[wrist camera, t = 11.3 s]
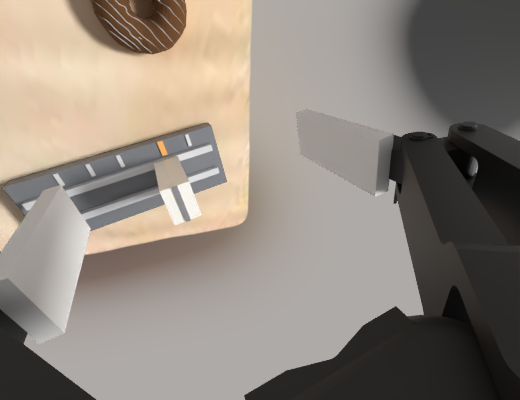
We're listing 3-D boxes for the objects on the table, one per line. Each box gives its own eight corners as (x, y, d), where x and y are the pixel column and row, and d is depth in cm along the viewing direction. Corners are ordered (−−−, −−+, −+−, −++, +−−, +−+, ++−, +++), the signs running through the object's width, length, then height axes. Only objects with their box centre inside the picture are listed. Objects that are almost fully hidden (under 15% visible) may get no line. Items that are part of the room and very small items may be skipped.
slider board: (9, 180, 35) (-1, 191, 32) (207, 122, 42) (212, 126, 39) (54, 236, 40) (48, 249, 38) (223, 176, 47) (228, 183, 45)
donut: (163, -59, 31) (167, -73, 28) (195, 42, 37) (202, 40, 34) (69, -42, 29) (61, -55, 25) (119, 63, 34) (118, 64, 31)
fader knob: (153, 161, 39) (159, 192, 30) (176, 153, 40) (189, 182, 31) (165, 189, 41) (174, 226, 32) (187, 182, 42) (202, 215, 33)
